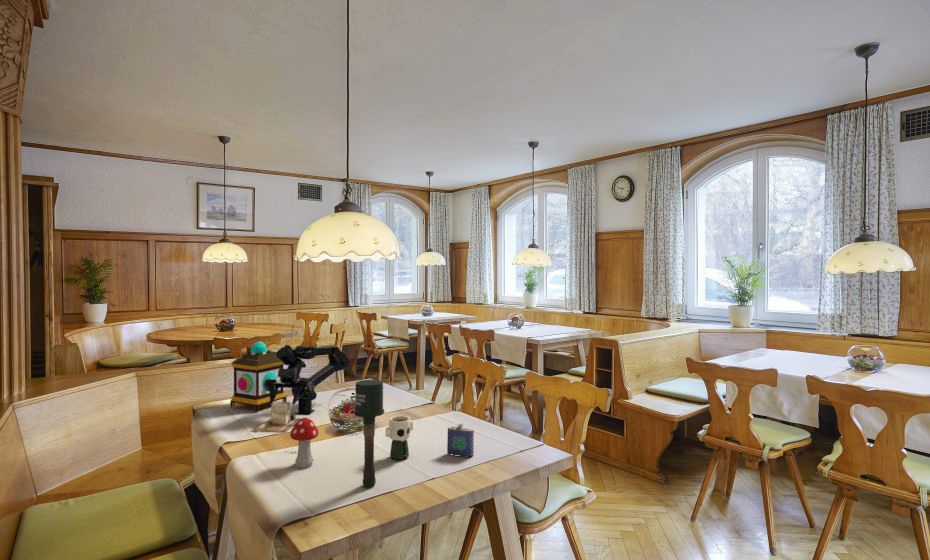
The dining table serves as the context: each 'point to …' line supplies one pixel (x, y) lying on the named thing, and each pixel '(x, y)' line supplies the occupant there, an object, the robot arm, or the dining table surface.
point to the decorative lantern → (256, 377)
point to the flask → (460, 441)
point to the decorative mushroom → (304, 441)
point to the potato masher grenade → (369, 421)
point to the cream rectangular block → (280, 413)
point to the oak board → (276, 426)
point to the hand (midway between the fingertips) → (281, 403)
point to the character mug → (399, 435)
